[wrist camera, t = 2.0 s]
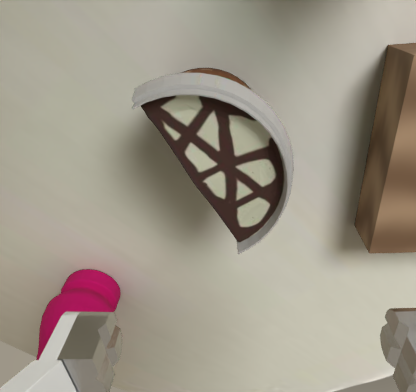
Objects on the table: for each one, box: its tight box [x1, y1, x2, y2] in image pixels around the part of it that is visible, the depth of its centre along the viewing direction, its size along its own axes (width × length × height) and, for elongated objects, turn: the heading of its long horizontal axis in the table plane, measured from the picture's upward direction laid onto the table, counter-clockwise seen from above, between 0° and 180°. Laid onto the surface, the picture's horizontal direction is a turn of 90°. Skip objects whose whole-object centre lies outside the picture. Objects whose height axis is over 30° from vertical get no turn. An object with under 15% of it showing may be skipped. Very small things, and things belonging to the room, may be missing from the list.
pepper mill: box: [36, 269, 120, 360], centre depth 31 cm, size 7×7×20 cm
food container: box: [132, 68, 294, 254], centre depth 23 cm, size 12×6×10 cm, turn 32°
